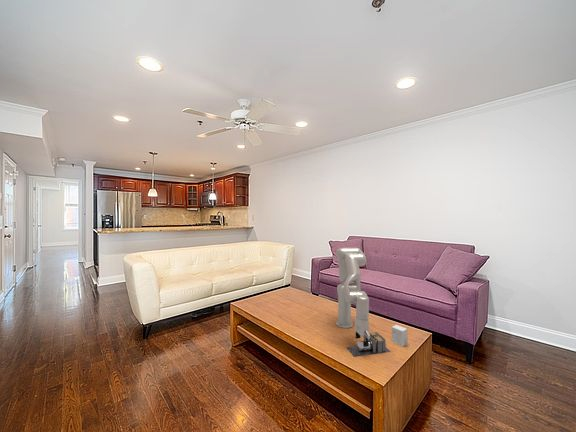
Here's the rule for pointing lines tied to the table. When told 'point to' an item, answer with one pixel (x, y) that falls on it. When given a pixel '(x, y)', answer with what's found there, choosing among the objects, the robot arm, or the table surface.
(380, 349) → the rail
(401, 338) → the small box
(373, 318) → the table surface
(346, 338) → the table surface
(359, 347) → the tube
